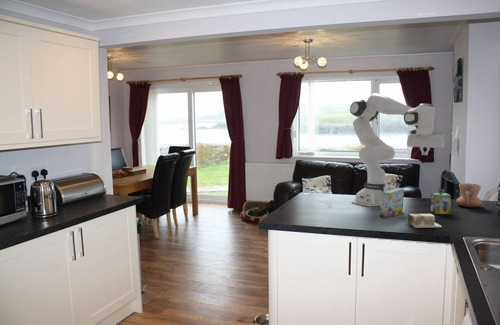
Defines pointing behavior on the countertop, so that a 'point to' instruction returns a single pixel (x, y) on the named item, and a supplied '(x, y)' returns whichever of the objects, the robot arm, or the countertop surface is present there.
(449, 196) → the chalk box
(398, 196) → the snack box
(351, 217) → the countertop surface
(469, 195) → the ceramic jug
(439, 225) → the mat
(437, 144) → the robot arm
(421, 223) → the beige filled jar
